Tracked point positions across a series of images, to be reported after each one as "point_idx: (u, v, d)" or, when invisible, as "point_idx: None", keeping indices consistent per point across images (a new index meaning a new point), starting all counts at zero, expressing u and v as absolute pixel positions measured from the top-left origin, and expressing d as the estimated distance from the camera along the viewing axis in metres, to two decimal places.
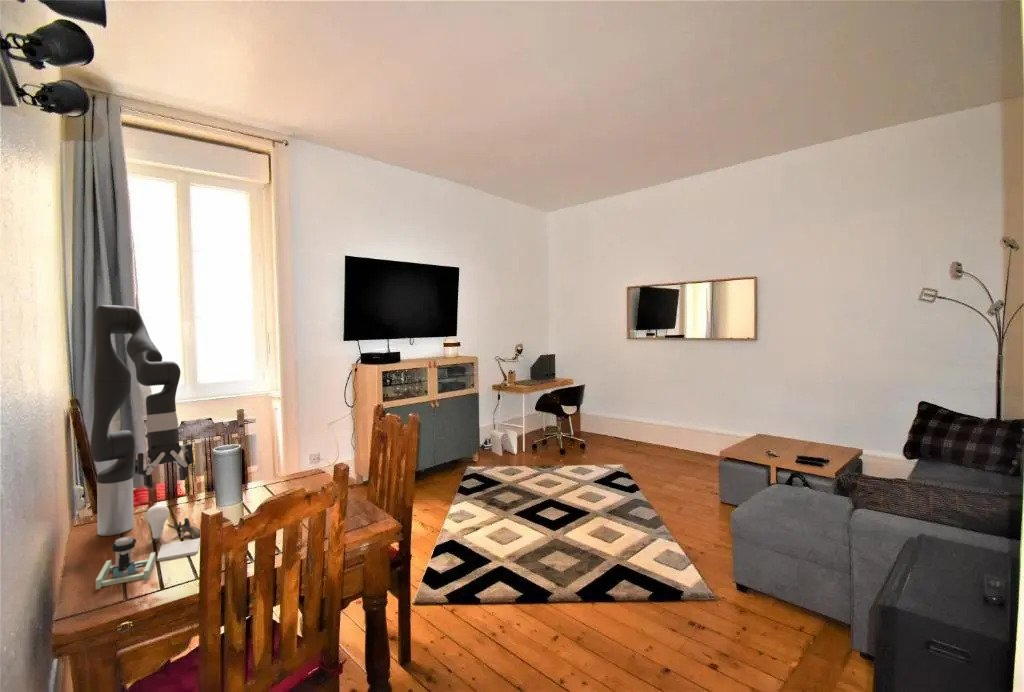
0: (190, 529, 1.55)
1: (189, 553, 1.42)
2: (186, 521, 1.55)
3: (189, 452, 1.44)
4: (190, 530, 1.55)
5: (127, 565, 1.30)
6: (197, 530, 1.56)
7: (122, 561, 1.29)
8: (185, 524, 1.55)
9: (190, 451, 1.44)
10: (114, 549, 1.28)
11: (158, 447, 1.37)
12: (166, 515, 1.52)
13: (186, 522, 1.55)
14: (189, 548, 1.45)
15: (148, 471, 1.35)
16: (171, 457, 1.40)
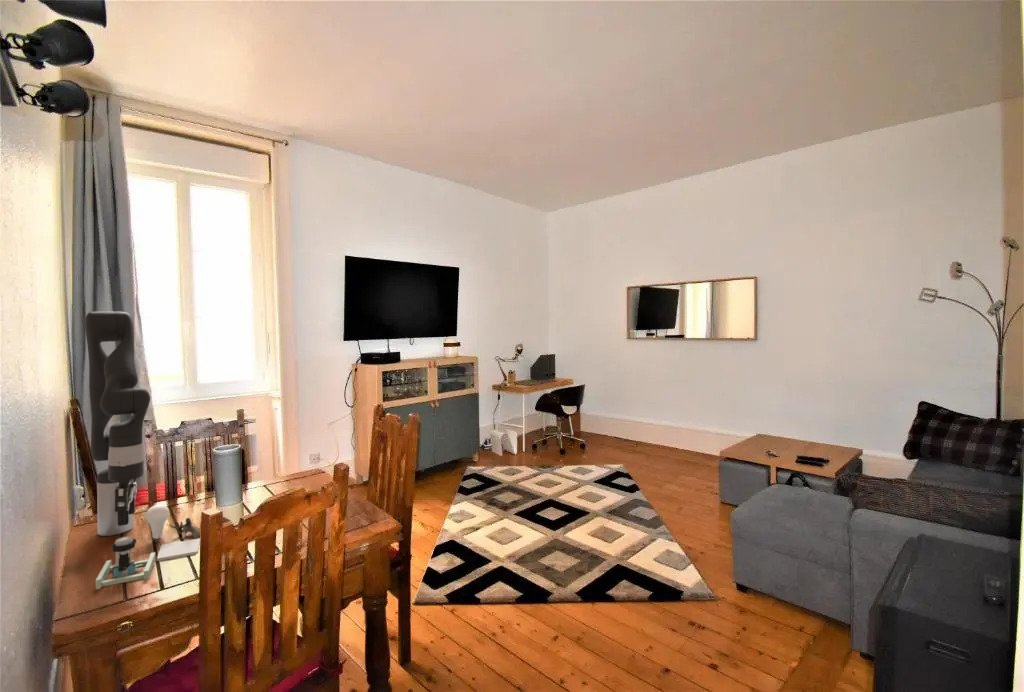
0: (192, 529, 1.55)
1: (189, 553, 1.42)
2: (188, 521, 1.55)
3: None
4: (192, 530, 1.55)
5: (127, 565, 1.30)
6: (199, 530, 1.56)
7: (122, 561, 1.29)
8: (186, 524, 1.55)
9: (136, 482, 1.36)
10: (114, 549, 1.28)
11: (130, 480, 1.29)
12: (166, 515, 1.52)
13: (187, 522, 1.55)
14: (189, 548, 1.45)
15: (128, 506, 1.27)
16: None
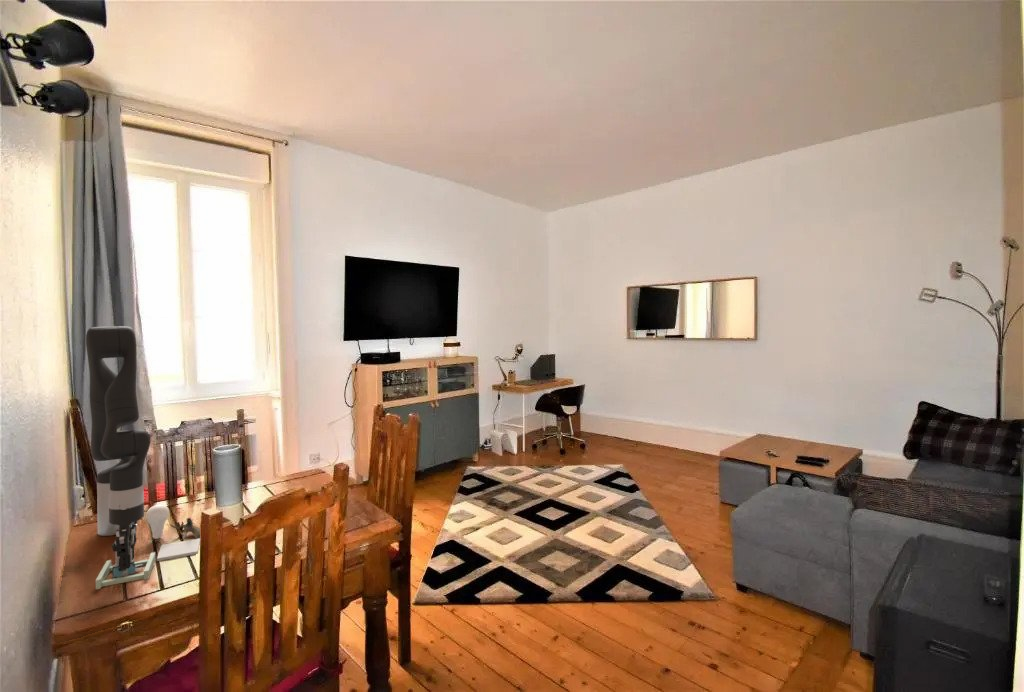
0: (193, 529, 1.55)
1: (189, 553, 1.42)
2: (189, 521, 1.55)
3: None
4: (193, 530, 1.55)
5: None
6: None
7: None
8: (187, 524, 1.55)
9: None
10: (114, 549, 1.28)
11: (131, 523, 1.29)
12: (166, 515, 1.52)
13: (188, 522, 1.55)
14: (189, 548, 1.45)
15: (130, 550, 1.29)
16: None
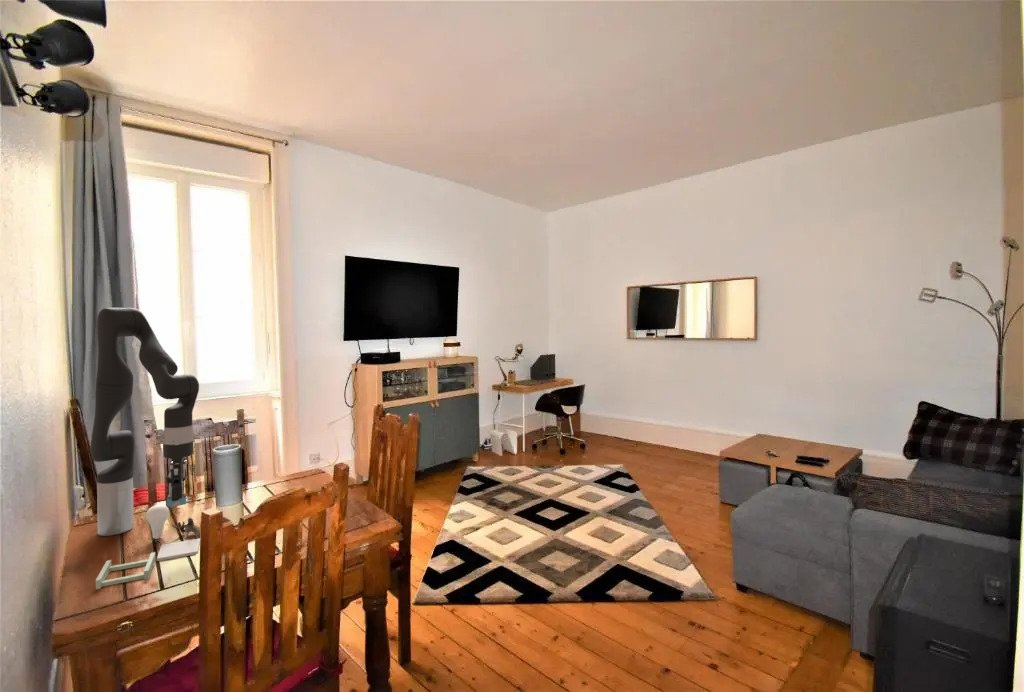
0: (194, 529, 1.55)
1: (189, 553, 1.42)
2: (190, 521, 1.55)
3: None
4: (194, 530, 1.55)
5: None
6: None
7: None
8: (188, 524, 1.55)
9: None
10: (168, 480, 1.42)
11: (182, 458, 1.43)
12: (166, 515, 1.52)
13: (190, 522, 1.55)
14: (189, 548, 1.45)
15: (182, 482, 1.42)
16: None
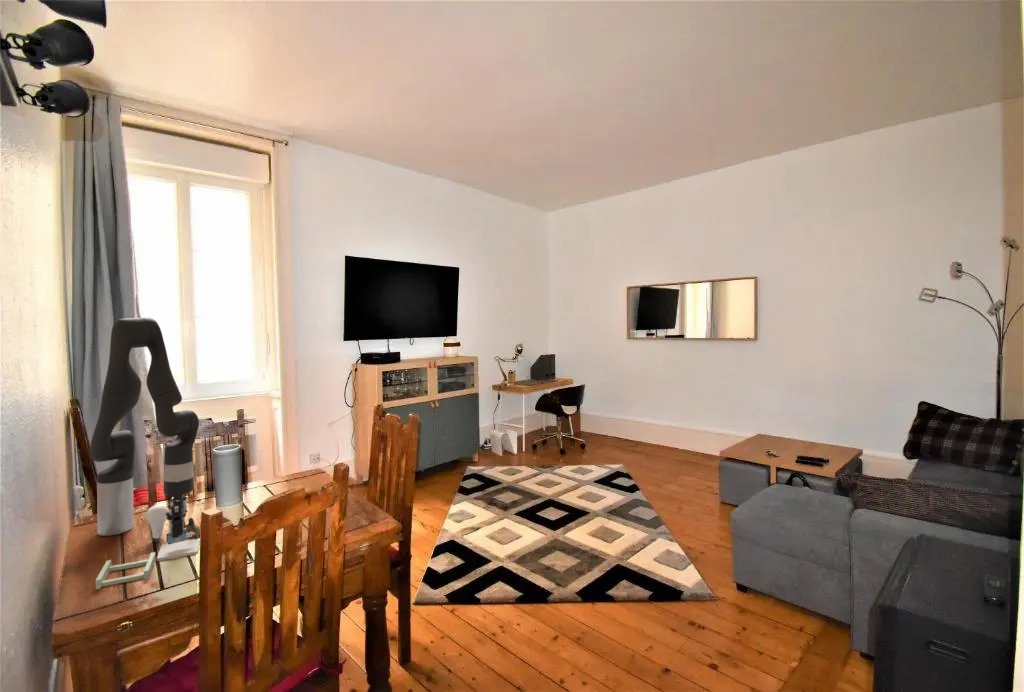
0: (194, 529, 1.55)
1: (189, 553, 1.42)
2: (190, 521, 1.56)
3: None
4: (194, 530, 1.55)
5: None
6: None
7: None
8: (189, 524, 1.55)
9: None
10: (168, 517, 1.42)
11: (183, 494, 1.43)
12: None
13: (190, 522, 1.55)
14: (189, 548, 1.45)
15: (182, 519, 1.43)
16: None
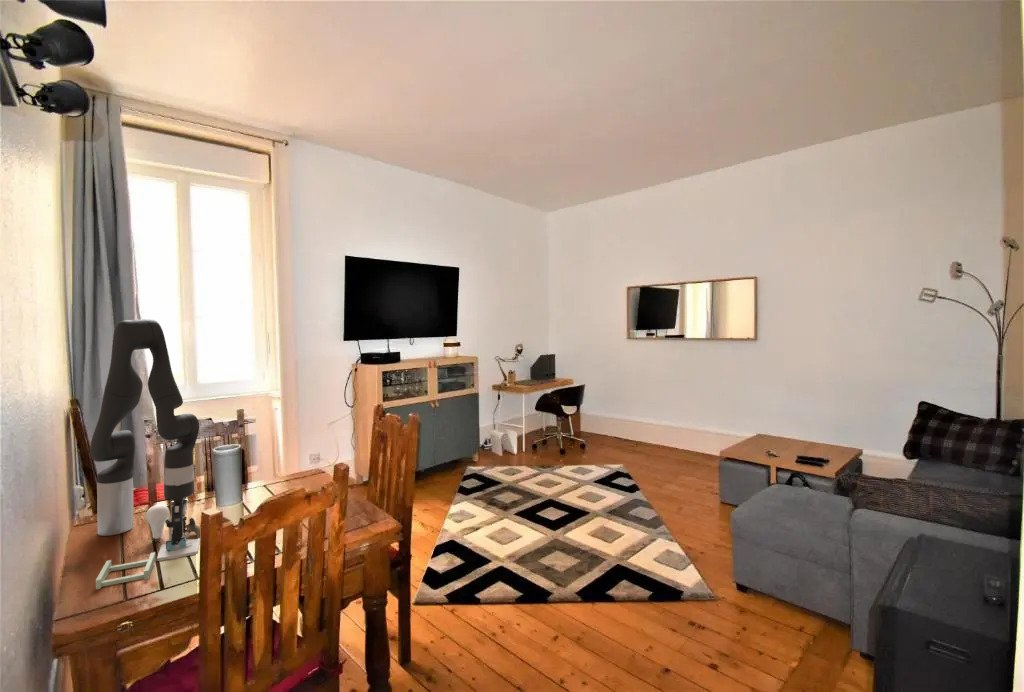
0: (195, 529, 1.55)
1: (189, 553, 1.42)
2: (191, 521, 1.56)
3: (186, 499, 1.50)
4: (195, 530, 1.55)
5: (179, 540, 1.44)
6: None
7: None
8: (190, 524, 1.56)
9: None
10: (168, 525, 1.42)
11: (183, 498, 1.43)
12: (166, 515, 1.52)
13: (191, 522, 1.56)
14: (189, 548, 1.45)
15: (182, 521, 1.41)
16: None
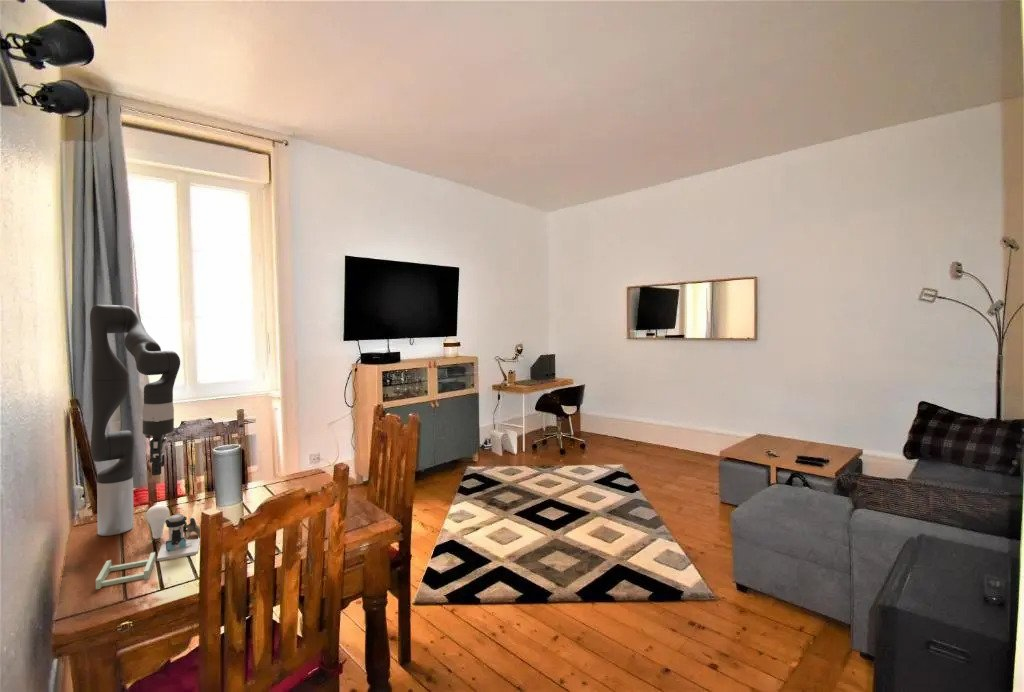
0: (196, 529, 1.55)
1: (189, 553, 1.42)
2: (192, 521, 1.56)
3: None
4: (196, 530, 1.55)
5: (179, 540, 1.44)
6: None
7: (175, 536, 1.43)
8: (190, 524, 1.56)
9: None
10: (168, 525, 1.42)
11: (162, 435, 1.41)
12: (166, 515, 1.52)
13: (192, 522, 1.56)
14: (189, 548, 1.45)
15: (161, 458, 1.39)
16: None
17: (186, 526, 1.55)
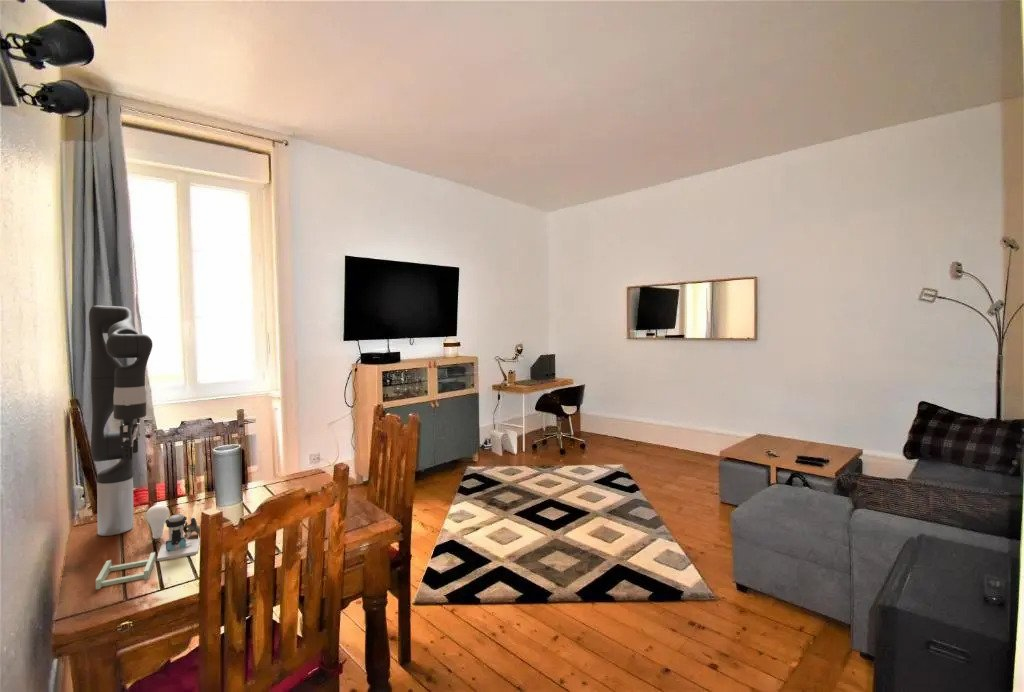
0: (197, 529, 1.55)
1: (189, 553, 1.42)
2: (193, 521, 1.56)
3: None
4: (197, 530, 1.55)
5: (179, 540, 1.44)
6: None
7: (175, 536, 1.43)
8: (191, 524, 1.56)
9: None
10: (168, 525, 1.42)
11: (134, 419, 1.38)
12: (166, 515, 1.52)
13: (192, 522, 1.56)
14: (189, 548, 1.45)
15: (132, 443, 1.36)
16: None
17: (187, 526, 1.56)
